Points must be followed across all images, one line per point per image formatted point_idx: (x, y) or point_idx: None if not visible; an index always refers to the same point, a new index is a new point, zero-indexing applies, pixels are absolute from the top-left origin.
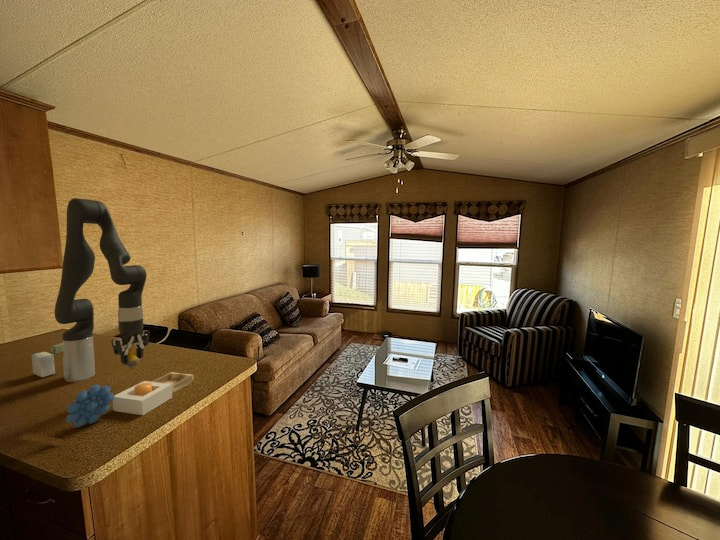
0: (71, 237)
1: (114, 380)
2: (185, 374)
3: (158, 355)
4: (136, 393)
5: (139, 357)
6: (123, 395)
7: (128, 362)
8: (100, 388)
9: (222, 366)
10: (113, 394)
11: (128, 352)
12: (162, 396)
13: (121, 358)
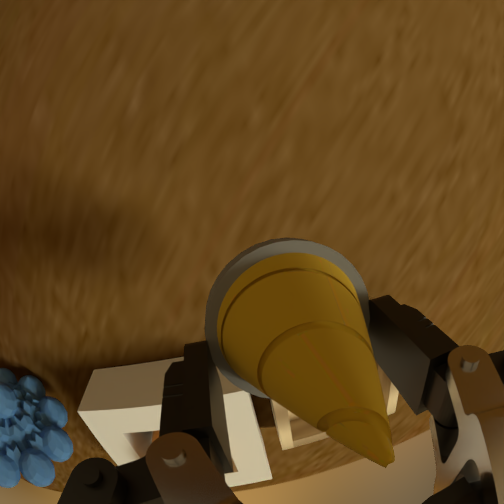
0: None
1: (269, 28)
2: (393, 390)
3: (497, 14)
4: None
5: (370, 335)
6: (111, 437)
7: (232, 380)
8: (19, 478)
9: (486, 348)
10: (70, 454)
11: (294, 414)
12: None
13: (165, 418)
